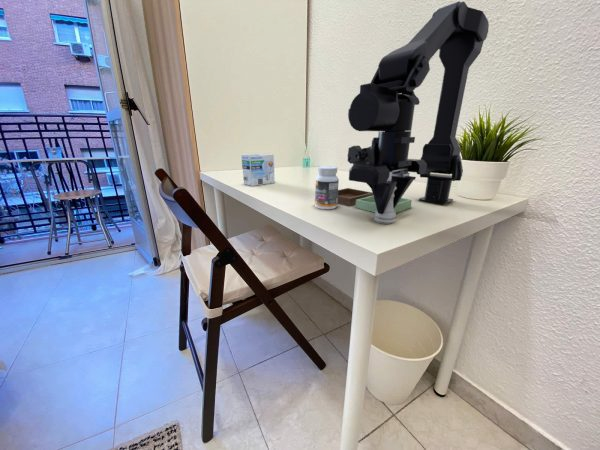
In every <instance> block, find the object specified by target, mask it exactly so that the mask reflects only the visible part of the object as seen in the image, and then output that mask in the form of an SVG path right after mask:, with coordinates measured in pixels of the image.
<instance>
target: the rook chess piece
mask: <svg viewBox="0 0 600 450" xmlns="http://www.w3.org/2000/svg"><path fill="white" fill-rule="evenodd" d="M396 189H397V188H396V186H395V188H394V191H395V190H396ZM394 191H393V193H392V195H391V198H390V200H389V203H388V205H387V207H386V210H385V212H384V213H383V214H379V213H378V211H376V212H374V215H375V216H374V217H373V219H374V221H375V222H376V223H378V224H382V225H391V224H394V223H396V221H397V219H396V217H397V213H395V212H394V211H395V210H394V208H393V198H394V196H395V195H394Z"/></svg>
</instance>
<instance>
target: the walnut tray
mask: <svg viewBox="0 0 600 450" xmlns="http://www.w3.org/2000/svg"><path fill="white" fill-rule="evenodd" d="M369 196H373V192H372V191H366V190H361V189H356V188H352V187H351V188H350V187H346V188H341V189H338V202H337V204H340V205H344V206H348V207H351V206H356V200H357V199H361V198H365V197H369Z"/></svg>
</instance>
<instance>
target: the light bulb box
mask: <svg viewBox="0 0 600 450" xmlns="http://www.w3.org/2000/svg"><path fill="white" fill-rule="evenodd" d="M240 157H241V167H242V168H241V169H242V181H243V184H244V185H246V186H247V185H248V186H251V187H255V186H262V185H269V184H275V182H276V181H275V180H276V179H275V155H274V154H269V153H257V154H256V153H254V154H241V156H240Z"/></svg>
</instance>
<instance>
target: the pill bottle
mask: <svg viewBox="0 0 600 450" xmlns="http://www.w3.org/2000/svg"><path fill="white" fill-rule="evenodd" d="M317 173H318V175H317V176H316V178H315V195H314V205H315V207H316V208H318V209H320V210H334V209H335V208H337V207H338V203H337V202H338V190H339V181H340V179H339V177H338V176H337V174H338V167H337V166H332V165H322V166H318V167H317Z"/></svg>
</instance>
